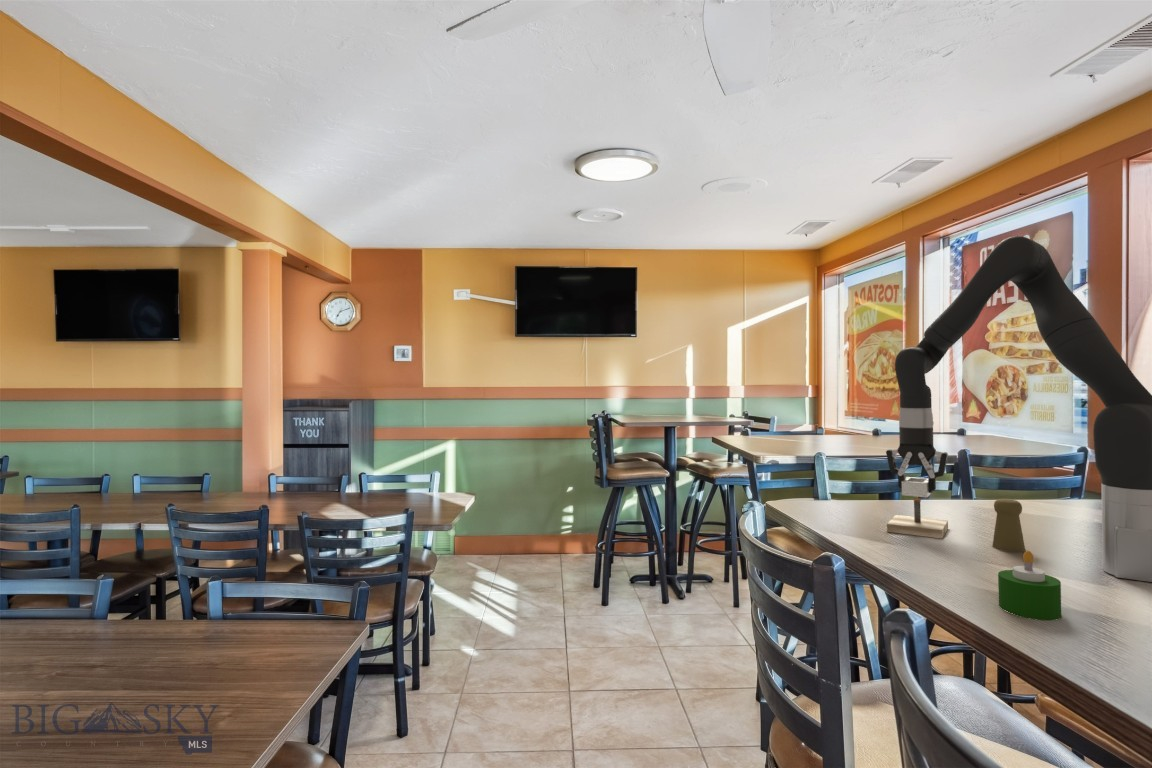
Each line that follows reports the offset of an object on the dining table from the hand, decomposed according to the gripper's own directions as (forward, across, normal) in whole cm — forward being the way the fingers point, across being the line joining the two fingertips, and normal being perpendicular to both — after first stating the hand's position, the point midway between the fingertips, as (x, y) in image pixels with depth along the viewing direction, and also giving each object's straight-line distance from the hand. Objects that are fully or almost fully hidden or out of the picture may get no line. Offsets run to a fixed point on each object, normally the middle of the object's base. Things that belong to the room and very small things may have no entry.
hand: (917, 491), depth 151 cm
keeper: (+10, 0, 0) cm, 10 cm away
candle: (+10, +23, -49) cm, 55 cm away
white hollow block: (+1, 0, 0) cm, 1 cm away
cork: (+10, +19, -7) cm, 23 cm away
